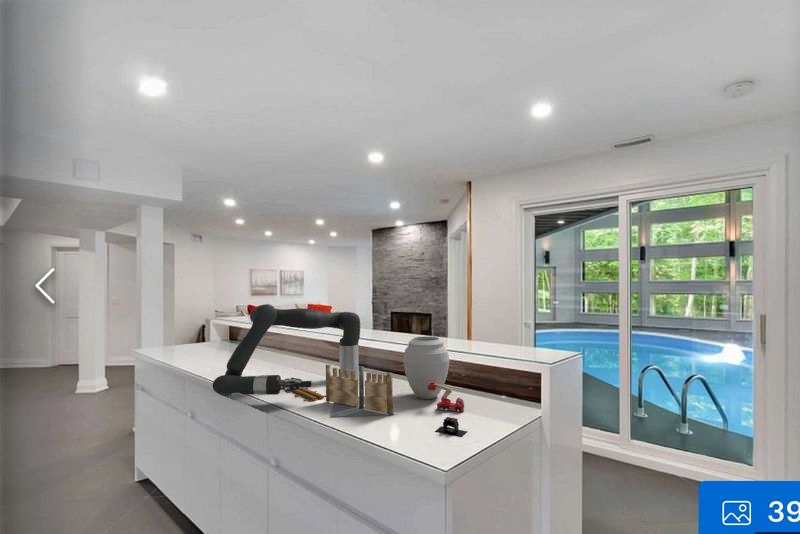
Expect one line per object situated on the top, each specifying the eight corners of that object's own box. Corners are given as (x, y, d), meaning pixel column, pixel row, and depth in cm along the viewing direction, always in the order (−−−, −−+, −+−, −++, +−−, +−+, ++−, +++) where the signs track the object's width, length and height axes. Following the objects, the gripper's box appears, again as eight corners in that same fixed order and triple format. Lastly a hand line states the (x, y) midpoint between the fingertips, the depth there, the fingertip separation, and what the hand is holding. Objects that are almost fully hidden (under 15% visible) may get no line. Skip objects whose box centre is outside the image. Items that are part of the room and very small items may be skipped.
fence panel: (358, 405, 153) (358, 368, 153) (355, 407, 151) (355, 369, 151) (328, 399, 160) (328, 364, 161) (324, 401, 159) (324, 365, 159)
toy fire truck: (463, 413, 145) (463, 386, 146) (427, 409, 150) (427, 383, 150) (465, 410, 148) (464, 384, 149) (429, 406, 153) (429, 381, 153)
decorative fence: (307, 404, 159) (329, 399, 165) (307, 399, 159) (329, 394, 165) (280, 391, 178) (301, 387, 184) (280, 386, 178) (301, 382, 184)
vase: (459, 395, 166) (458, 338, 167) (430, 407, 152) (429, 343, 153) (423, 387, 179) (422, 333, 180) (393, 397, 165) (393, 338, 166)
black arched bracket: (428, 433, 128) (428, 419, 128) (438, 426, 134) (438, 412, 134) (465, 441, 122) (464, 425, 122) (473, 432, 128) (472, 418, 128)
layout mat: (335, 398, 165) (335, 396, 165) (390, 396, 166) (390, 395, 167) (330, 418, 141) (330, 416, 141) (394, 415, 143) (394, 414, 143)
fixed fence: (358, 409, 150) (357, 367, 151) (361, 407, 152) (360, 366, 152) (390, 416, 143) (390, 371, 143) (393, 414, 144) (393, 370, 145)
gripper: (262, 379, 150) (308, 378, 152) (271, 371, 164) (313, 370, 165) (262, 399, 150) (308, 398, 151) (271, 389, 163) (313, 388, 165)
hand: (311, 383), depth 158 cm, fingers closed
